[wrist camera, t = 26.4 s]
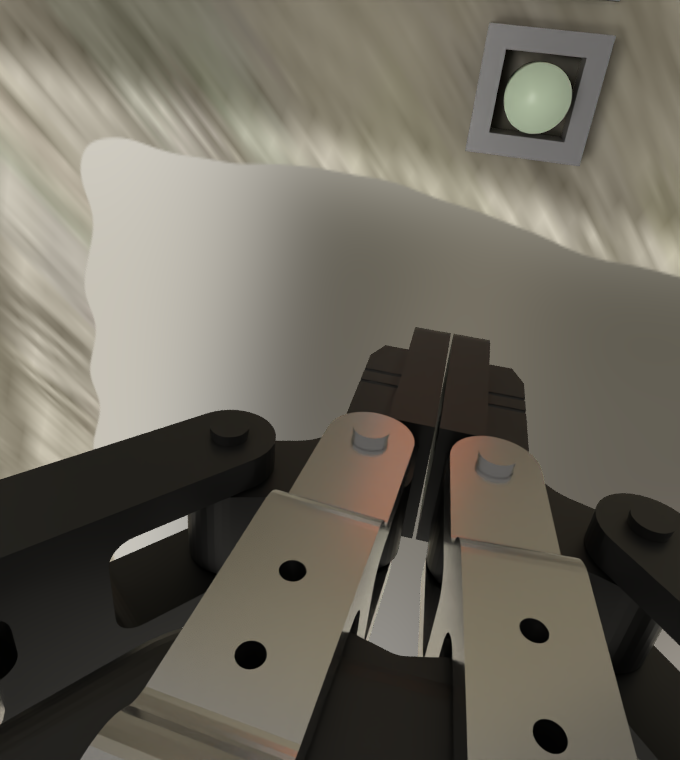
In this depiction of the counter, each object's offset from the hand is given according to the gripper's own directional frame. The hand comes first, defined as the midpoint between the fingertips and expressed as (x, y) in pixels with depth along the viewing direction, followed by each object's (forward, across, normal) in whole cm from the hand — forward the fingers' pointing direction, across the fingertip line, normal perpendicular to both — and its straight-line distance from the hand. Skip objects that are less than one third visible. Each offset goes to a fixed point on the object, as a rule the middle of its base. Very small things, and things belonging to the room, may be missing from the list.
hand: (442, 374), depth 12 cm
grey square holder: (+39, -3, -3) cm, 39 cm away
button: (+38, -3, -3) cm, 38 cm away
